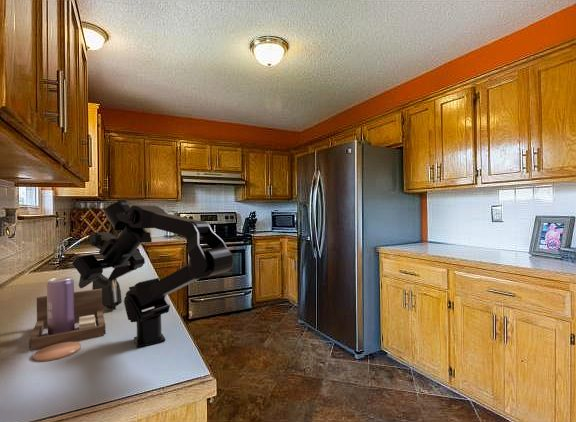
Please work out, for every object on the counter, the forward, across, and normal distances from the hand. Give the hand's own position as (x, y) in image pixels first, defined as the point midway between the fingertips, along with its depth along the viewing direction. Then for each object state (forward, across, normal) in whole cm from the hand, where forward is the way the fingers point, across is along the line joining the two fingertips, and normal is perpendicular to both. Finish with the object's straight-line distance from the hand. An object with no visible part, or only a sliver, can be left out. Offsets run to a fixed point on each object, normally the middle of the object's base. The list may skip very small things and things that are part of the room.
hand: (95, 283), depth 85 cm
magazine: (+26, -24, -7) cm, 36 cm away
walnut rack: (+15, +2, +4) cm, 16 cm away
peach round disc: (+8, +12, +11) cm, 18 cm away
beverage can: (+16, +3, +3) cm, 17 cm away
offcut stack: (+12, 0, +7) cm, 14 cm away
